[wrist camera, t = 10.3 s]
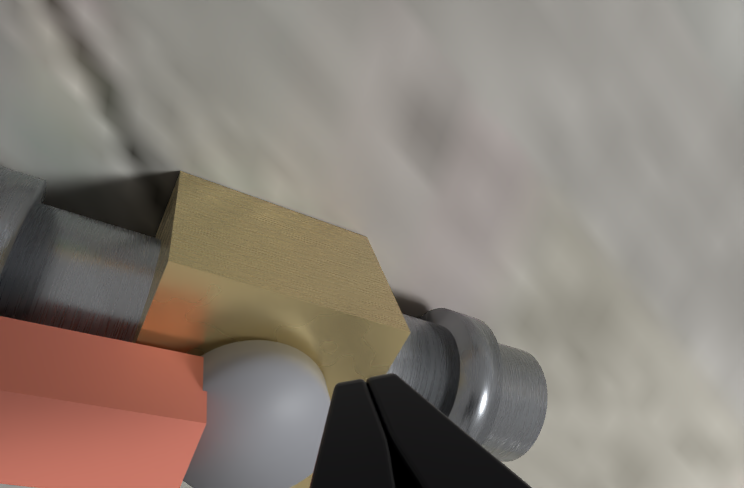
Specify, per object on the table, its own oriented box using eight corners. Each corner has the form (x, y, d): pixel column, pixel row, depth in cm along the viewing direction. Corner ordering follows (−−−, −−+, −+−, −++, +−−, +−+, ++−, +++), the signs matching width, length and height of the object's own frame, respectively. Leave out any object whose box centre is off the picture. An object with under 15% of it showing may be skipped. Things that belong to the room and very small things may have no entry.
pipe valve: (521, 291, 23) (598, 387, 19) (441, 414, 26) (492, 527, 21) (-83, 78, 16) (-210, 150, 11) (-124, 279, 18) (-245, 412, 13)
